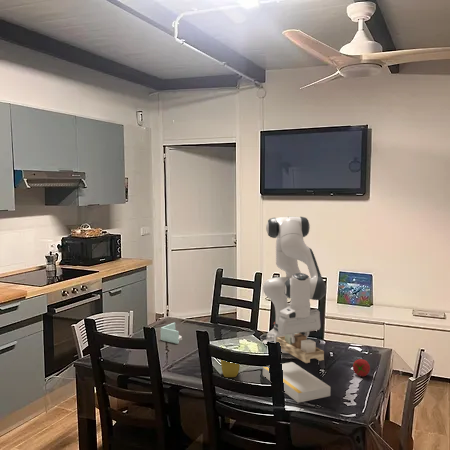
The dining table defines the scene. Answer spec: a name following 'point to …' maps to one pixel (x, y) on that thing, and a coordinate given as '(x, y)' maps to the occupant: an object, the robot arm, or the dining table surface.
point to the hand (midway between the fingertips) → (299, 341)
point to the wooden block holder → (296, 349)
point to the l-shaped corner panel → (170, 334)
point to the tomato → (361, 367)
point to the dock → (300, 383)
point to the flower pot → (229, 369)
